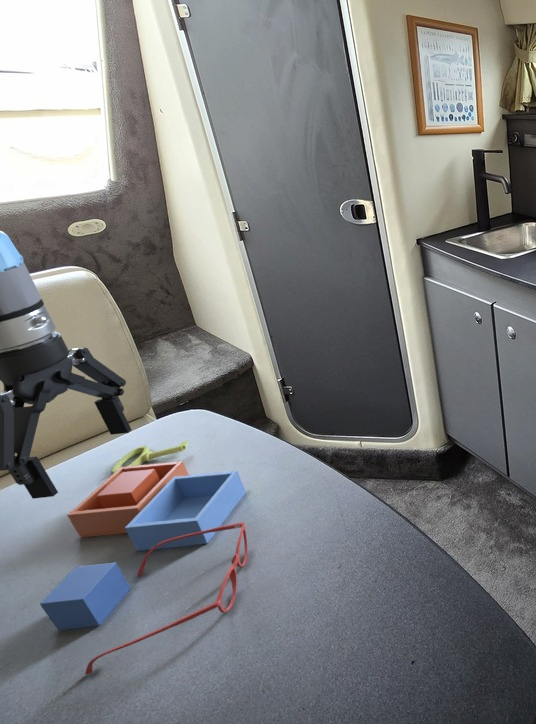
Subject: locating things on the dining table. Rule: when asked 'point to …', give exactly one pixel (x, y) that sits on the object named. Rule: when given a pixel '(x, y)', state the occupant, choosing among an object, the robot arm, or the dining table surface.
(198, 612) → the red eyeglasses
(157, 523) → the blue bin
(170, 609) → the dining table surface
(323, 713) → the dining table surface
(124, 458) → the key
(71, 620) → the blue block
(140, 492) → the terracotta block
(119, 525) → the terracotta bin
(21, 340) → the robot arm
